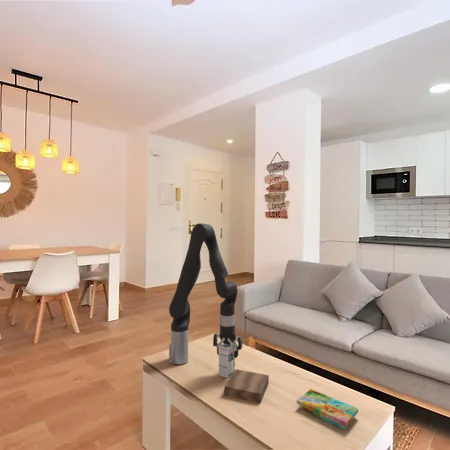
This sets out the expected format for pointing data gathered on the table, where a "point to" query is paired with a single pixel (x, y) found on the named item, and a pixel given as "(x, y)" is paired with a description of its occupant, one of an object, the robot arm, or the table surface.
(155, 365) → the table surface
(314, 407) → the puzzle game
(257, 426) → the table surface
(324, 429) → the table surface
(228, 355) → the syrup box
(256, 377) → the walnut base
